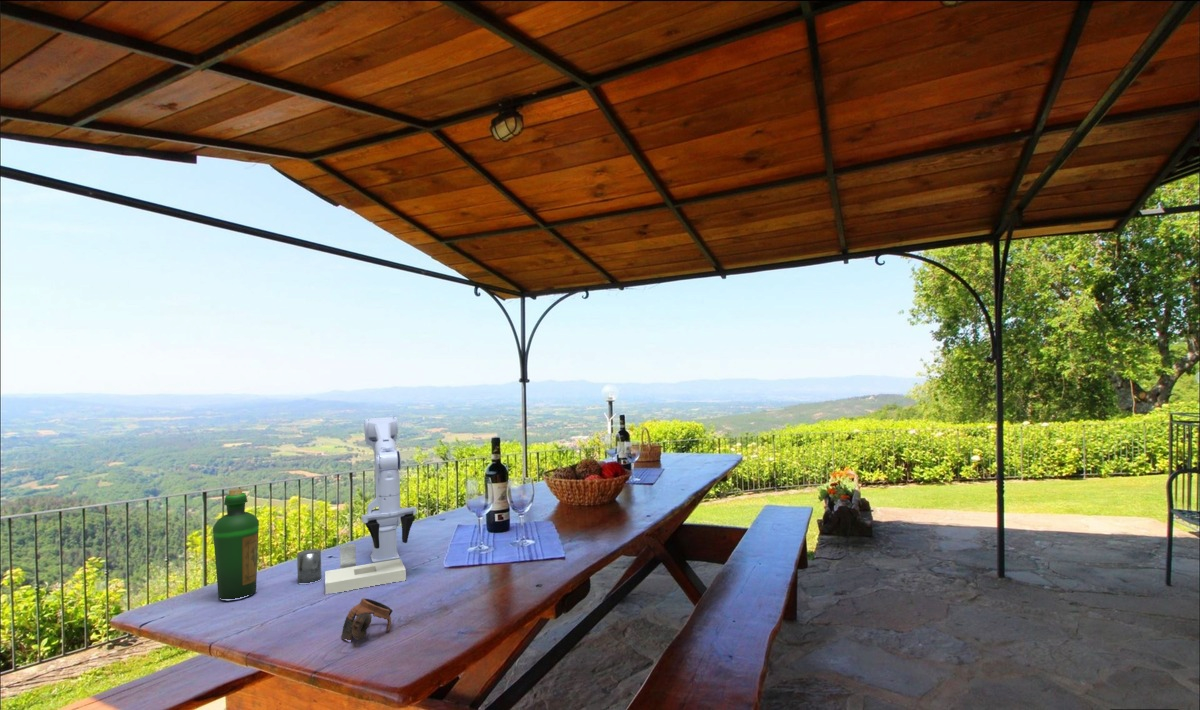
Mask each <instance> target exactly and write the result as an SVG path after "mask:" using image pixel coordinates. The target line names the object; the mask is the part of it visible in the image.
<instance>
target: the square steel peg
mask: <svg viewBox="0 0 1200 710" xmlns="http://www.w3.org/2000/svg"><path fill="white" fill-rule="evenodd" d="M356 550H357V549H356V543H350V544H343V545H340V546H339V559H340V561H339V562H340V563H339V564H340V568H339V569H341V568H347V567H353V566H357V557H356V556H357V555H356Z"/></svg>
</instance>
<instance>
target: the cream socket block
mask: <svg viewBox="0 0 1200 710" xmlns="http://www.w3.org/2000/svg"><path fill="white" fill-rule="evenodd" d="M403 563H404V562H403V561H402V559H401V558H399V559H393V560H387V561H381V562H375V563H373V562H371V563H367V564H361V565H360V564H359V565H356V566H353V567H347V568H336V569H330V570H325V571H324V573H325V574H324V575H325V577H324V580H325V583H324V584H325V586H324V587H325V588H324V589H325V595H326V594H328V593H336V594H338V593H337V592H342V593H345V592H344V591H347V592H350V591H349V590H353V589H358V590H360V589H359V588H363V587H369V588H371V587H370V586H374V587H376V586H375V585H380V584H385V585H387V584H386V583H391V584H393V583H392V582H396V583H400V582H399V581H402V582H406V581H407V573H406V572H407V571H406V570H407V569H406V567H405V566H404V564H403ZM405 580H406V581H405ZM380 586H381V585H380ZM363 589H364V588H363ZM353 591H354V590H353Z"/></svg>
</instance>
